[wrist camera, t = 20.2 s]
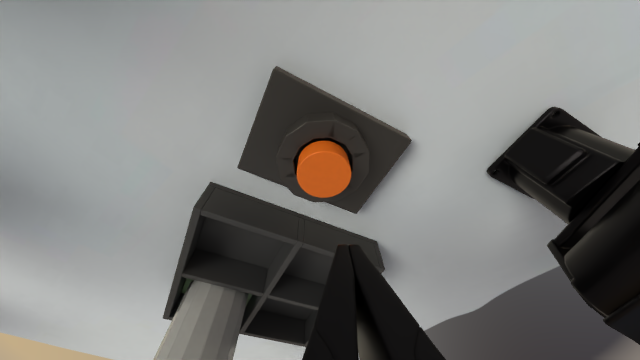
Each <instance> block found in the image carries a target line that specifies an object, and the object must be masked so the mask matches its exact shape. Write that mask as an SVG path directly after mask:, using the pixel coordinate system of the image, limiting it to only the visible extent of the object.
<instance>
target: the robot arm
mask: <svg viewBox="0 0 640 360" xmlns="http://www.w3.org/2000/svg"><path fill="white" fill-rule="evenodd" d="M553 113H554V114H553ZM638 146H639V147H638V148H637V149H636V150H634V149H631V148H628V147H626V146H623V145H620V144H618V143H615V142H613V141H610V140H607V139H605V138H602V137H600V136H599V135H598V134H596V133H595V132H593V131H592V130H591V129H589V128H588V127H586V126H585V125H584V124H582V123H581V122H579V121H578V120H577V119H575V118H574V117H573V116H571V115H570V114H568V113H567V112H566V111H564V110H563V109H561V108H558V107H551V108H549V109H548V110H547V111H546V112H545V113H544V114H543V115H542V116H541V117H540V118H539V119H538V120H537V121H536V122H535V123H534V124H533V125H532V126H531V127H530V128H529V129H528V130H527V131H525V132H524V133H523V134H522V135H521V136H520V137H519V138H518V139H517V140H516V141H515V142H514V143H513V144H512V145H511V146H510V147H509V148H508V149H507V150H506V151H505V152H504V153H503V154H502V155H501V156H500V157H499V158H498V159H497V160H496V161H495V162H494V163H493V164H492V165H491V166H490V167H489V168H488V170H487V173H488V174H489V175H490V176H491V177H493V178H495V179H497V180H499V181H501V182H503V183H504V184H506V185H508V186H510V187H512V188H514V189H516V190H518V191H520V192H522V193H523V194H525V195H527V196H529V197H531V198H533V199H536V200H537V201H538V202H540V203H541V204H542V205H544V206H545V207H546V208H548V209H549V210H550V211H551V212H553V213H554V214H555V215H557V216H558V217H559V218H561V219H562V220H563V221H564V222H566V223H567V224H568V225H567V226H566V227H565V228H564V229H563V231H562V232H561V233H560V234H559V235H558V236H557V237H556V238H555V239H554V240H551V241H550V242H549V244H548V245H547V246H548V248H549V249H550V251H551V252H552V254H553V255H554V257H555V258H556V260H557V261H558V263H559V264H560V266H561V267H562V269H563V271H564V272H565V274H566V275H567V277H568V278H569V280H570V281H571V284H572V286H573V287H574V288H575V289H576V291H577V292H578V293H579V295H580V296H581V297H582V298H583V300H584V301H585V302H586V303H587V304H588V305H589V306H590V307H591V308H593V309H594V310H595V311H596V312H598V313H599V314H600V315H602V316H603V317H604V319H603V321H604V322H605V323H606V324H607V325H608V326H610V327H611V328H613V329H615V330H617V331H618V332H620V333H622V334H624V335H625V336H627V337H629V338H630V339H632V340H634V341H635V342H636V343H638V344H639V345H640V143H639V144H638ZM358 353H359V358H358ZM359 359H360V360H446V359H445V358H444V357H443V356H442V354H441V353H440V352H439V350H438V349H437V348H436V347H435V345H434V344H433V343H432V341H431V340H430V339H429V337H428V336H427V335H426V333H425V332H424V331H423V329H422V328H421V327H419V324H418V323H417V321H416V320H415V319H414V317H413V316H412V315H411V313H410V312H409V311H408V309H407V308H406V307H405V305H404V304H403V303H402V301H401V300H400V299H399V297H398V296H397V295H396V293H395V292H394V291H393V289H392V288H391V287H390V285H389V284H388V283H387V281H386V280H385V279H384V277H383V276H382V275H381V273H380V272H379V271H378V269H377V268H376V267H375V265H374V264H373V263H372V261H371V260H370V259H369V257H368V256H367V255H366V253H365V252H364V251H363V249H362V248H361V246H360V245H357V244H350V245H347V244H338V245H337V248H336V251H335V255H334V258H333V261H332V265H331V268H330V271H329V275H328V278H327V281H326V285H325V288H324V291H323V295H322V298H321V301H320V305H319V308H318V311H317V315H316V318H315V321H314V325H313V328H312V331H311V334H310V337H309V341H308V344H307V347H306V350H305V353H304V356H303V359H302V360H359Z"/></svg>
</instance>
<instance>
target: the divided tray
mask: <svg viewBox="0 0 640 360" xmlns="http://www.w3.org/2000/svg"><path fill="white" fill-rule="evenodd" d="M338 244H347V245H350V244H357V245H360V246H361V248H362V249H363V251H364V252H365V253H366V255H367V256H368V257H369V259H370V260H371V261H372V263H373V264H374V265H375V267H376V268H377V269H378V271H379V272H380V273H382V272H383V271H384V270H385V267H384V264H383V261H382V257H381V254H380V251H379V247H378V244H377V242H376V241H374V240H371V239H368V238H365V237H362V236H360V235H357V234H354V233H351V232H349V231H346V230H343V229H340V228H337V227H335V226H332V225H329V224H326V223H324V222H321V221H318V220H315V219H312V218H310V217H307V216H304V215H301V214H298V213H296V212H293V211H290V210H287V209H285V208H282V207H279V206H276V205H273V204H271V203H268V202H265V201H262V200H259V199H257V198H254V197H251V196H248V195H246V194H243V193H240V192H237V191H234V190H232V189H229V188H226V187H223V186H220V185H218V184H215V183H212V182H210V183H209V185H208V186H207V188H206V189H205V191H204V192H203V194H202V195H201V197H200V198H199V200H198V201H197V203H196V204H195V206H194V208H193V211H192V215H191V219H190V222H189V226H188V229H187V233H186V237H185V240H184V244H183V247H182V251H181V254H180V258H179V262H178V265H177V269H176V272H175V276H174V280H173V283H172V287H171V290H170V294H169V298H168V301H167V305H166V308H165V312H164V315H163V319H169V320H172V319H173V317H174V315H175V313H176V311H177V309H178V307H179V305H180V303H181V301H182V299H183V297H184V295H185V293H186V290H187V288H188V286H189V284H190V282H191V280H196V281H200V282H205V283H209V284H213V285H217V286H221V287H225V288H229V289H233V290H237V291H241V292H245V293H249V294H248V298H247V303H246V307H245V311H244V315H243V319H242V323H241V327H240V331H239V334H244V335H248V336H253V337H259V338H264V339H269V340H274V341H279V342H284V343H289V344H294V345H299V346H304V347H307V344H308V341H309V337H310V334H311V331H312V328H313V325H314V321H315V318H316V315H317V311H318V308H319V305H320V301H321V298H322V295H323V291H324V288H325V285H326V281H327V278H328V275H329V271H330V268H331V265H332V261H333V258H334V255H335V251H336V248H337V245H338Z"/></svg>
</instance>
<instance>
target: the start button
mask: <svg viewBox="0 0 640 360" xmlns="http://www.w3.org/2000/svg"><path fill="white" fill-rule="evenodd" d="M297 180H298V183H299V185H300V187H301V188H302V189H303V190H304V191H305V192H306V193H308V194H310V195H312V196H315V197H319V198H327V197H332V196H335V195H337V194H339V193H341V192H342V191H343V190H344V189H345V188H346V187H347V186H348V184H349V182H350V180H351V167H350V164H349V160H348V156H347V154H346V152H345V151H344V149H343V148H342V147H341V146H339V145H338V144H336V143H334V142H331V141H317V142H313V143H311V144H309V145H308V146H306V147H305V148H304V149H303V151H302V152H301V154H300V156H299V159H298V167H297Z"/></svg>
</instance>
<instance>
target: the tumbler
mask: <svg viewBox="0 0 640 360" xmlns="http://www.w3.org/2000/svg"><path fill="white" fill-rule="evenodd" d="M248 294H249V293H245V292H241V291H237V290H233V289H229V288H225V287H221V286H217V285H213V284H209V283H205V282H200V281H196V280H191V282H190V284H189V286H188V288H187V290H186V293H185V295H184V297H183V299H182V301H181V303H180V305H179V307H178V309H177V311H176V313H175V315H174V317H173V319H172V322H171V324H170V326H169V328H168V330H167V332H166V334H165V336H164V338H163V340H162V342H161V344H160V346H159V348H158V351H157V353H156V355H155V357H154V359H153V360H233V356H234V352H235V348H236V344H237V340H238V335H239V331H240V327H241V323H242V319H243V315H244V311H245V307H246V303H247V298H248Z"/></svg>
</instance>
